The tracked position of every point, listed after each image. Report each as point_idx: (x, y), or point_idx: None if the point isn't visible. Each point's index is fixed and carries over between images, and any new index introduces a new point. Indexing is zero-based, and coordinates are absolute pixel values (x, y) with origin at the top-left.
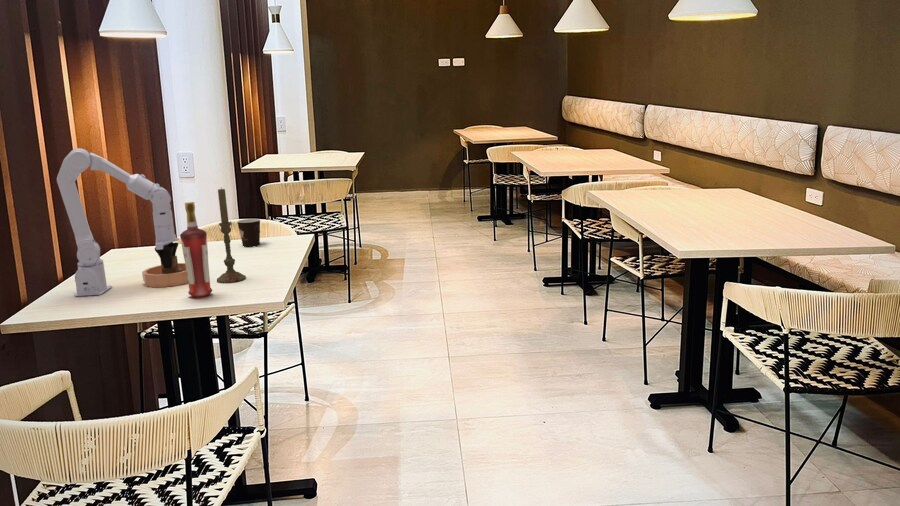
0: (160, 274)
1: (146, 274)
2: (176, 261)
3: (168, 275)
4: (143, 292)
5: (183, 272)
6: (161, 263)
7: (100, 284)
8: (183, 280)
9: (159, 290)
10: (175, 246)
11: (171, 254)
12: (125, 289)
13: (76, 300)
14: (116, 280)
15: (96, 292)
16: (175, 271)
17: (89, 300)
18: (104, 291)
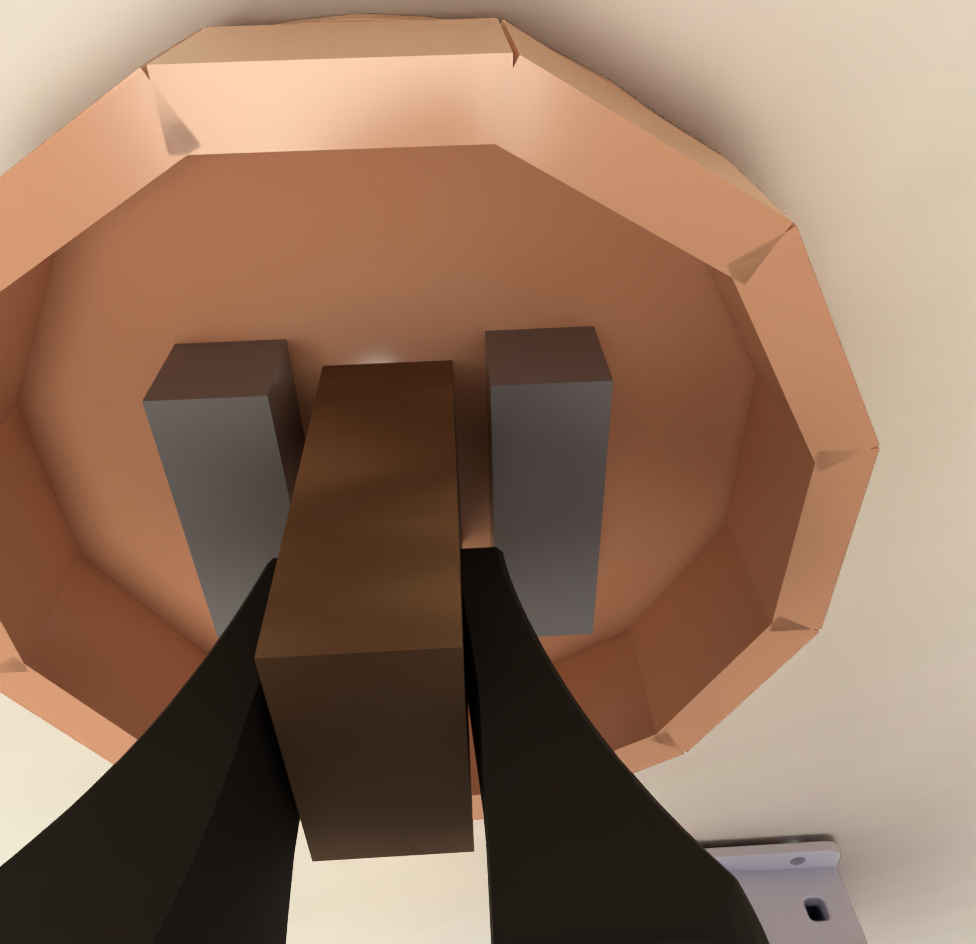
0: (795, 574)
1: (700, 736)
2: (352, 555)
3: (872, 441)
4: (928, 564)
5: (771, 210)
6: (469, 742)
7: (768, 934)
8: (738, 170)
9: (930, 418)
10: (171, 938)
11: (557, 757)
12: (691, 749)
13: (913, 902)
14: (301, 898)
15: (841, 879)
16: (453, 442)
17: (971, 843)
18: (759, 850)
